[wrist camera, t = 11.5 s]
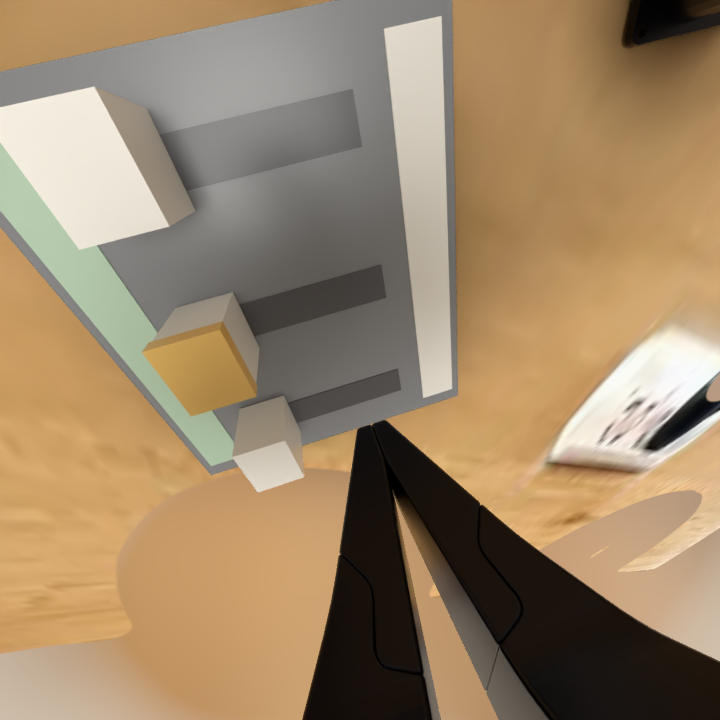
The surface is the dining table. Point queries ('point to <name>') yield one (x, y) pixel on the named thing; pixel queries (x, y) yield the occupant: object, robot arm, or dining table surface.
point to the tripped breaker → (206, 354)
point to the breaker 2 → (268, 444)
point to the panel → (278, 209)
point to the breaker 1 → (95, 164)
